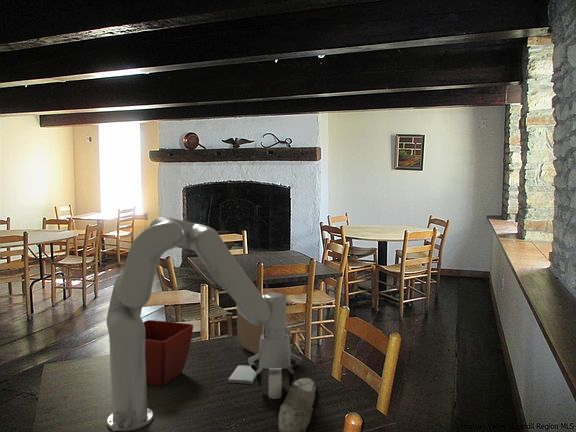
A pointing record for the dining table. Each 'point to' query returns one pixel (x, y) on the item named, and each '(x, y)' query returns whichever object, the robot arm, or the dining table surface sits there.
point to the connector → (275, 382)
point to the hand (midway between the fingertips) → (275, 384)
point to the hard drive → (243, 375)
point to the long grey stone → (297, 406)
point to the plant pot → (165, 350)
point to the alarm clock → (249, 334)
